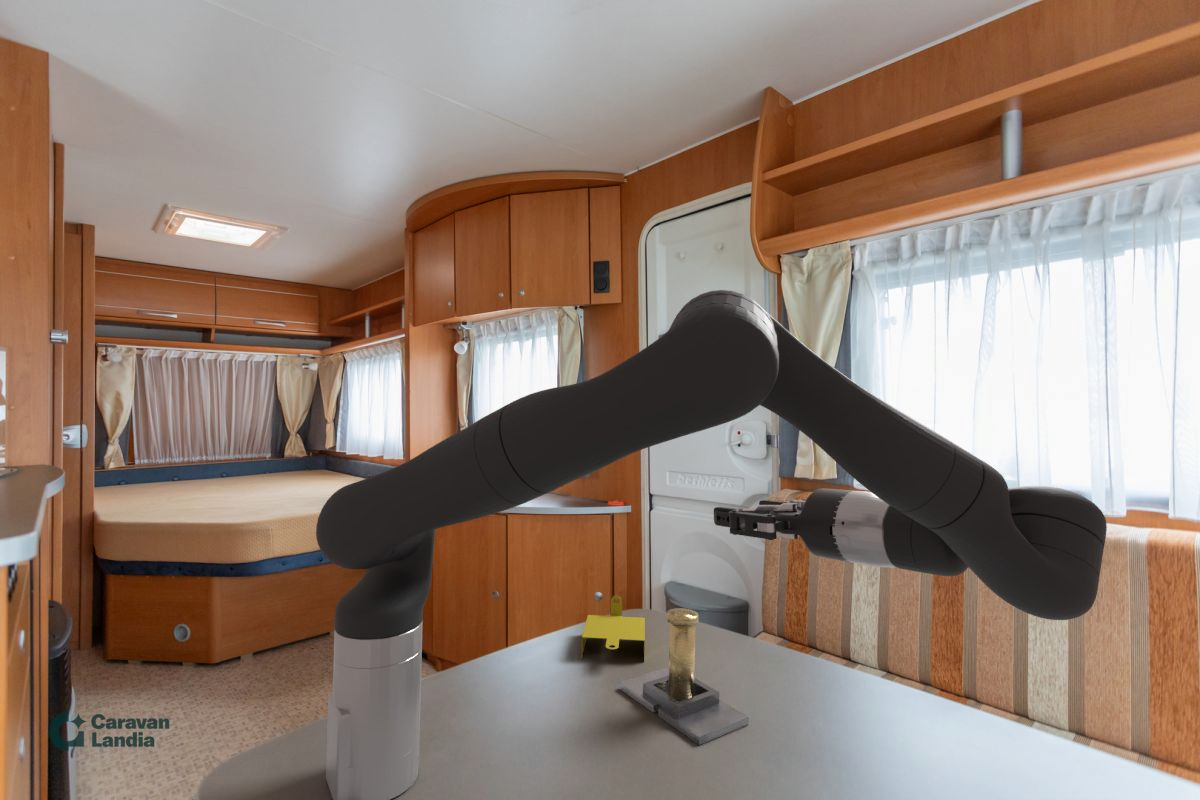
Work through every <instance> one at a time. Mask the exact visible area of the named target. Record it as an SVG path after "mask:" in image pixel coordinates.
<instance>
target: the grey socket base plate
mask: <svg viewBox="0 0 1200 800" xmlns="http://www.w3.org/2000/svg"><path fill="white" fill-rule="evenodd" d="M668 681H669V668H666V667H664V668H661V669H657V670H654V671H651V672H648V673H644V674H642V675H638V676H634V677H632V678H631V677H630V678H628V679H625V680H622V681H619V682H618V684H619V685H618V689H619V690H620V691H622V692H623V693H624V694H626V695H628V696H629V697H630V698H632V699H633V700H635V701H636V702H637V703H638V704H640V705H641V706H643V707H644V706H645V707H644V708H646V709H647V710H648V711H650V712H651V713H658V714H657V716H658V717H659V718H660V719H662V720H663V721H664V722H666V723H667V724H668V725H670V726H672V727H673V728H674V729H676V730H677V731H678V732H680V733H682V734H683V735H685V736H686V737H688V739H690V740H692V742H694V743H696V744H697V745H698V746H701V745H703V744H705V743H707V742H710V741H712V740H714V739H717V738H719V737H721V736H724V735H726V734H729V733H731V732H734V731H736V730H738V729H741V728H743V727H746V726H749V716H748V715H747V714H744V713H743V712H742V711H739V710H738V709H736V708H734V707H732V706H731V705H729V704H728V703H726V702H724V701H723V700H721V699H720V691H718V690H716V689H715V688H713V687H711V686H710V685H708V684H706V683H704V682H703V681H700V680H699V679H697V678H695V677H694V697H691V698H688V699H685V700H683V701H680V702H679V701H677V700H676V699H674V698H673V697H671V696H670V695H668Z"/></svg>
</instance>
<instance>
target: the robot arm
mask: <svg viewBox="0 0 1200 800" xmlns="http://www.w3.org/2000/svg"><path fill="white" fill-rule="evenodd" d="M759 406H761V407H763V408H764V409H767V410H769V411H770V412H772V413H774V414H775V415H777V416H779V418H782V419H783V420H785V421H786V422H787V423H789V424H791V425H792V426H793V427H794V428H796V429H797V430H798V431H800V432H802V433H803V434H804V435H805V436H806V437H807V438H809V440H811V441H812V442H814V444H816V445H817V446H818V447H819V448H820V449H821V450H822V451H824V452H825V453H826V454H827V455H828V456H829V457H830V458H831V459H832V460H833V461H834V462H836V463H837V464H838V466H839V467H840V468H842V469H843V470H844V471H845V472H846V473H848V474H849V475H850V477H852V478H853V479H854V480H856V481H857V483H859V484H860V485H862V486H863V487H864V488H866V489H867V490H868V491H866V490H864V491H862V490H853V489H852V490H849V489H838V488H837V489H836V488H823V487H822V488H818V489H815V490H813V491H812V492H810V494H809V495H808V496H807V498H802V499H788V500H786V501H779V500H772V499H771V500H770V499H769V500H768V499H763V500H760V501H759V503H758V505H757V506H756V507H755V508H743V507H739V508H732V507H724V506H717V507H714V508H713V522H714V523H713V524H714V525H715V526H719V527H725V528H729V534H730V535H731V534H732V535H733V536H737V535H738V536H743V537H751V538H758V539H762V540H763V539H765V540H768V541H774V540H777V537H782V538H783V539H785V540H797V539H800V538H801V540H802V541H803V543H804V546H806V549H807V550H808V552H810V553H811V554H813V556H816V557H819V558H824V559H829V560H835V561H842V562H846V563H847V562H848V563H851V564H852V563H853V564H858V565H864V566H869V567H876V568H893V569H900V570H906V571H910V572H911V571H912V572H917V573H923V574H930V575H933V576H940V577H957V576H960V575H961V574H963V573H965V572H966V571H967V570H968V569H970V570H971V571H972V572H973V574H974V575H975V576H976V577H977V578H978V579H979V580H980V581H981V582H982V583H983V584H984V585H986V587H987V588H988V589H989V590H991V592H992V593H994V594H995V595H996V596H997V597H999V598H1000V599H1001V600H1003V601H1004V602H1006V603H1008V605H1011V606H1012V607H1014V608H1016V609H1017V610H1018V611H1020V612H1024V613H1026V614H1029V615H1031V616H1033V617H1037V618H1041V619H1044V620H1051V621H1068V620H1072V619H1073V620H1074V619H1076V618H1080V617H1082V616H1083V615H1086V614H1087V613H1088V612H1089V611H1090V610H1091V608H1092V607H1093V605H1094V603H1095V601H1096V598H1097V595H1098V589H1099V581H1100V575H1101V570H1102V569H1101V568H1102V563H1103V556H1104V549H1105V544H1106V538H1107V537H1106V536H1107V520H1106V517H1105V515H1104V513H1103V511H1102V509H1100V507H1098V505H1097V504H1095V503H1094V502H1093V501H1091V500H1090V499H1088V498H1086V497H1085V496H1084V495H1081V494H1078V493H1077V492H1074V491H1071V490H1067V489H1064V488H1061V487H1054V486H1049V485H1048V486H1047V485H1045V486H1044V485H1025V486H1024V485H1023V486H1016V487H1011V488H1009V487H1008V483H1007V482H1006V480H1005V478H1004V476H1003V475H1002V474H1001V473H1000V471H998V470H997V469H995V467H993V466H991V465H990V464H988V463H987V462H986V461H984V460H982V459H980V458H979V457H977V456H975V455H974V454H972V453H970V452H969V451H967V450H965V449H964V448H962V446H961V447H960V446H959V445H957V444H956V443H954V442H953V441H950V439H948V438H946V437H944V436H943V435H941V434H939V433H937V432H936V431H934V430H932V429H931V428H929V427H928V426H926V425H924V424H922V423H921V422H919V421H918V420H916V419H914V418H913V417H911V416H909V415H907V414H906V413H904V412H903V411H901V410H899V409H898V408H896V407H894V406H893V405H892V404H889V403H888V402H886V401H884V400H883V399H882V398H879V396H876V395H875V394H874V393H872V392H871V391H869V390H867V389H866V388H865V387H863V386H861V385H860V384H858V383H856V382H855V381H854V380H852V379H850V378H849V377H848V376H846V375H844V373H842V372H841V371H839V370H838V369H837V368H835V367H834V366H832V365H831V364H829V362H827V361H826V360H824V359H823V358H822V357H820V355H818V354H816V353H815V352H814V351H813V350H811V349H810V348H809V347H808V346H806V345H805V344H804V343H803V342H801V341H800V340H799V339H798V338H797V337H796V336H795V335H794V334H793V333H791V331H790V330H788V329H787V328H785V327H784V326H783V325H782V324H781V323H780V322H779V321H778V320H777V319H775V318H774V317H773V316H772V315H771V314H770V313H769V312H767V310H765V309H764V308H763V307H762V306H761V305H760V304H759V303H758V302H756V301H755V299H753V298H751V297H750V296H748V295H746V294H743V293H740V292H737V291H733V290H726V289H719V290H711V291H708V292H704V293H701V294H699V295H697V296H694V297H693V298H691V299H690V300H689V301H688V302H686V303H685V304H684V305H683V307H682V308H681V309H680V310H679V311H678V313H677V314H676V315H675V318H674V320H673V321H672V323H671V325H670V327H669V329H668V330H667V331H666V332H665V333H664V334H663V335H661V336H660V337H659V338H657V339H656V340H654V341H653V342H652V343H650V344H649V345H647V346H646V347H645V348H643V349H642V350H639V352H637V353H636V354H634V355H633V356H630V357H629V358H627V359H626V360H624V361H623V362H620V363H619V364H617V365H615V366H614V367H612V368H611V369H609V370H607V371H605V372H603V373H601V374H599V375H597V376H594V377H593V378H590V379H588V380H587V379H586V380H585V381H582V382H577V383H573V384H568V385H563V386H557V387H552V388H547V389H544V390H539V391H536V392H533V393H530V394H527V395H525V396H523V397H519V398H518V399H516V400H513V401H512V402H510V403H507V404H505V405H504V406H502V407H500V408H499V409H496V410H494V411H493V412H491V413H489V414H487V415H486V416H483V417H481V418H480V419H478V420H476V421H474V423H472V424H469V425H468V426H467V427H465V428H464V429H462V430H460V431H458V432H456V433H454V434H452V435H450V436H448V437H446V438H445V439H443V440H442V441H440V442H437V443H435V444H434V445H433V446H430V447H429V448H427V449H426V450H424V451H423V452H421V453H419V454H418V455H416V456H414V457H412V458H411V459H409V460H408V461H405V462H404V463H402V464H400V465H397V466H396V467H395V466H394V467H393V468H391V469H388V470H386V471H383V472H379V473H378V474H377V473H376V474H375V475H372V476H369V477H367V478H364V479H362V480H361V479H360V480H357V481H355V482H353V483H349V484H347V485H345V486H342V487H341V488H339V489H338V490H337V491H335V492H333V494H332V495H330V496H329V498H328V499H327V500H326V502H325V503H324V504H323V506H322V508H321V510H320V513H319V515H318V518H317V521H316V529H315V530H316V531H315V535H316V536H315V537H316V542H317V544H318V547H319V549H320V552H322V554H323V556H324V557H326V559H327V560H328V561H330V562H331V563H333V564H334V565H336V566H338V567H341V568H343V569H348V570H353V571H354V570H356V571H357V570H366V571H365V572H364V574H363V576H362V577H361V579H360V580H359V582H357V583H356V584H355V585H354V587H352V588H351V589H350V590H349V591H348V592H347V593H345V594H344V595H343V596H342V597H341V598H340V599H339V600H338V602H337V603H336V606H335V610H334V625H333V626H334V631H333V632H334V635H333V636H334V637H333V638H334V639H333V670H332V671H333V673H332V691H330V692H329V693H327V694H328V695H327V696H328V697H327V721H326V722H327V724H326V726H327V727H326V729H327V731H326V758H325V759H326V762H325V763H326V764H325V765H326V766H325V780H326V783H327V785H328V786H327V787H328V789H329V791H330V792H329V793H330V794H331V798H332V800H392V799H394V798H396V797H398V796H400V795H401V794H403V793H404V792H406V791H407V790H408V789H410V788H411V786H412V785H413V784H414V783H415V782H416V780H417V778H418V777H419V776H418V775H419V766H420V765H419V764H420V733H421V732H420V730H421V729H420V728H421V726H420V725H421V698H422V697H421V696H422V695H421V694H422V690H421V689H422V658H423V657H422V655H423V654H422V653H423V651H422V650H423V627H424V626H423V621H424V620H423V619H424V617H423V615H424V606H425V605H426V602H427V600H428V598H429V595H430V591H431V587H432V576H433V574H432V573H433V564H434V563H433V562H434V551H435V539H436V538H435V537H436V530H437V529H440V528H444V527H448V526H452V525H458V524H460V523H465V522H469V521H473V520H477V519H481V518H483V517H487V516H491V515H495V514H498V513H500V512H504V511H507V510H510V509H513V508H515V507H519V506H521V505H524V504H526V503H528V502H530V501H533V500H535V499H537V498H539V497H542V496H544V495H547V494H549V493H551V492H554V491H556V490H558V489H559V488H562V487H564V486H565V485H568V484H570V483H572V482H574V481H576V480H579V479H581V478H583V477H585V476H587V475H588V476H589V475H590V474H592V473H594V472H596V471H598V470H602V469H603V468H605V467H607V466H609V465H612V464H613V463H615V462H617V461H619V460H621V459H623V458H625V457H627V456H630V455H632V454H634V453H637V452H640V451H642V450H644V449H647V448H650V447H653V446H655V445H660V444H662V443H666V442H670V441H672V440H675V439H678V438H682V437H685V436H687V435H692V434H695V433H698V432H702V431H705V430H708V429H711V428H715V427H717V426H720V425H723V424H724V425H725V424H726V423H729V422H732V421H735V420H738V419H739V418H741V417H744V416H746V415H747V414H749V413H751V412H752V411H753V410H754V409H756V408H758V407H759ZM799 537H800V538H799Z"/></svg>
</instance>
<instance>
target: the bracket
mask: <svg viewBox="0 0 1200 800" xmlns="http://www.w3.org/2000/svg"><path fill="white" fill-rule="evenodd" d="M615 600H619V602H618V603H615ZM645 619H646V618H645V617H635V616H623V599H622V597H621V596H619V595H613V596H612V598H611V600H610V615H595V614H588V615H587V617H586V621H585V624H584V628H583V631H582V635H581V648H580V650H581V655H580V657H581V658H580V659H581V660H582V658H583V655H584V650H585V647H586V642H587V639H591V638H592V639H604V640H605V639H606V642H605V648H606V649H608V650H617V649H618V648H620V646H619V644H620V640H622V641H623V640H624V641H625V640H627V641H640V642H642V641H643V653H645V648H646V647H645V643H646V641H645V640H646V635H645V631H646V630H645V629H646V628H645V627H646V626H645V625H646V623H645V622H646V620H645ZM611 646H613V647H611Z"/></svg>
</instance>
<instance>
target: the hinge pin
mask: <svg viewBox="0 0 1200 800" xmlns="http://www.w3.org/2000/svg"><path fill="white" fill-rule="evenodd" d="M666 620H667V623H668V624H669V636H668V637H669V644H668V645H669V647H668V670H669V681H668V695H670V696H671V697H673V698H674V699H676V700H677V701H679V702H680V701H683V700H685V699H688V698H691V697H694V678H695V668H696V667H695V666H696V665H695V662H696V659H695V657H696V655H695V654H696V626H697V625H698V624H699V613H698V612H697V611H695V610H694V609H693V610H692V609H690V608H684V607H683V608H681V607H679V608H677V607H676V608H671V609H668V610H667V612H666Z"/></svg>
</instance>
